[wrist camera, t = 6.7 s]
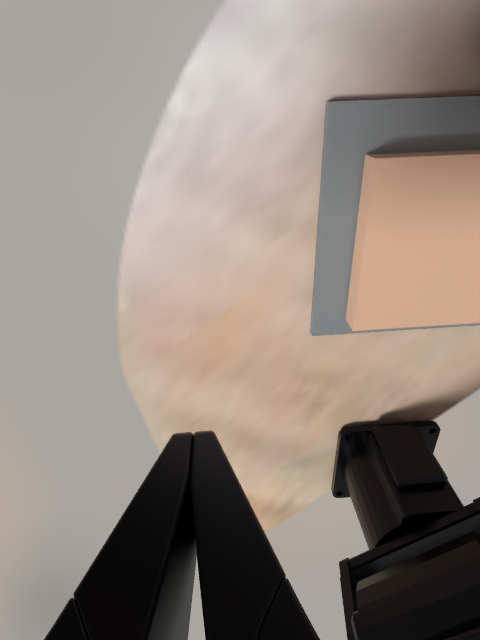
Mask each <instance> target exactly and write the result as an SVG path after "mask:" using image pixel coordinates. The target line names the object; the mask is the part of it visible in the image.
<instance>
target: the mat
mask: <svg viewBox="0 0 480 640" xmlns="http://www.w3.org/2000/svg"><path fill="white" fill-rule="evenodd" d="M457 150H480V96H457V97H431V98H404V99H378V100H352V101H326V112H325V127H324V141H323V156H322V170H321V185H320V199H319V214H318V228H317V243H316V257H315V272H314V287H313V301H312V316H311V330H310V332H311V335H312V336H318V335H333V334H348V333H364V332H379V331H395V330H410V329H426V328H441V327H457V326H472V325H480V323H472V324H456V325H441V326H425V327H410V328H394V329H379V330H363V331H352V329H351V327H350V326H349V324H348V322H347V321H346V311H347V303H348V295H349V286H350V278H351V269H352V261H353V253H354V244H355V236H356V228H357V219H358V211H359V203H360V194H361V186H362V177H363V169H364V161H365V155H367V154H390V153H412V152H435V151H457Z"/></svg>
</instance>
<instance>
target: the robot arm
mask: <svg viewBox="0 0 480 640" xmlns="http://www.w3.org/2000/svg"><path fill="white" fill-rule="evenodd" d="M439 433H440V427H439V426H438V425H437V423H436V422H434V421H425V422H412V423H399V424H386V425H372V426H359V427H347V428H343V429H341V430H340V431H339V434H338V442H337V450H336V457H335V465H334V472H333V480H332V488H331V490H332V494H333V496H334V497H336V498H343V497H351V499H352V502H353V505H354V508H355V511H356V513H357V517H358V519H359V522H360V525H361V528H362V530H363V533H364V536H365V539H366V542H367V545H368V548H369V550H368V551H366V552H364V553H362V554H359V555H357V556H355V557H353V558H351V559H349V558H346V559H344V560H342V561H340V562H339V567H340V575H341V577H340V581H341V589H342V598H343V605H344V614H345V622H346V630H347V638H348V640H480V497H479V498H477V499H475V500H473V503H471V504H469V505H466V506H463V504H462V502H461V501H460V499H459V498H458V496H457V494H456V493H455V491H454V489H453V488H452V486H451V485H450V483H449V482H448V480H447V479H448V478H447V476H446V474H445V472H444V471H443V469H442V468H441V466H440V464H439V463H438V461H437V460H436V458H435V456H434V455H433V452H434V449H435V446H436V442H437V439H438V436H439ZM346 435H347V436H346ZM196 557H197V560H198V570H199V580H200V589H201V599H202V609H203V617H204V627H205V637H206V640H320V639H319V637H318V636H317V634H316V632H315V630H314V628H313V626H312V624H311V623H310V621H309V619H308V617H307V615H306V613H305V611H304V609H303V608H302V606H301V604H300V602H299V600H298V598H297V596H296V594H295V592H294V590H293V588H292V586H291V584H290V582H289V580H288V579H286V578H285V573H284V571H283V569H282V567H281V565H280V563H279V561H278V559H277V557H276V555H275V553H274V551H273V549H272V547H271V545H270V543H269V541H268V539H267V537H266V535H265V533H264V531H263V529H262V527H261V525H260V523H259V521H258V519H257V517H256V515H255V513H254V511H253V509H252V507H251V505H250V503H249V501H248V499H247V497H246V495H245V493H244V491H243V489H242V487H241V485H240V483H239V481H238V479H237V477H236V475H235V473H234V471H233V469H232V467H231V465H230V463H229V461H228V459H227V457H226V455H225V453H224V451H223V449H222V447H221V445H220V443H219V441H218V439H217V437H216V435H215V433H214V432H213V431H199V432H195V433H194V435H193V433H191V432H186V433H175V434H173V435H172V437H171V438H170V440H169V441H168V443H167V445H166V446H165V448H164V449H163V451H162V453H161V454H160V456H159V457H158V459H157V461H156V462H155V464H154V465H153V467H152V469H151V470H150V472H149V474H148V475H147V477H146V478H145V480H144V482H143V483H142V485H141V486H140V488H139V489H138V491H137V493H136V494H135V496H134V497H133V499H132V501H131V503H130V504H129V506H128V507H127V509H126V510H125V512H124V514H123V515H122V517H121V518H120V520H119V522H118V523H117V525H116V526H115V528H114V529H113V531H112V533H111V534H110V536H109V538H108V539H107V541H106V542H105V544H104V546H103V547H102V549H101V550H100V552H99V554H98V555H97V557H96V558H95V560H94V562H93V563H92V565H91V566H90V568H89V570H88V571H87V573H86V574H85V576H84V578H83V579H82V581H81V582H80V584H79V586H78V587H77V589H76V590H75V592H74V598H71V599H70V600H69V601H68V603H67V604H66V606H65V608H64V609H63V611H62V612H61V614H60V616H59V617H58V619H57V620H56V622H55V624H54V625H53V627H52V628H51V630H50V631H49V633H48V634H47V636H46V637H45V639H44V640H188V631H189V621H190V612H191V603H192V593H193V584H194V575H195V566H196Z"/></svg>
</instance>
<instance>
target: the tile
mask: <svg viewBox="0 0 480 640" xmlns="http://www.w3.org/2000/svg"><path fill="white" fill-rule="evenodd" d="M346 321H347V322H348V324H349V326H350V327H351V329H352V331H363V330H379V329H394V328H410V327H425V326H441V325H456V324H472V323H480V150H457V151H435V152H412V153H390V154H367V155H365V161H364V169H363V177H362V186H361V194H360V203H359V211H358V219H357V228H356V236H355V244H354V253H353V261H352V269H351V278H350V286H349V295H348V303H347V311H346Z"/></svg>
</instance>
